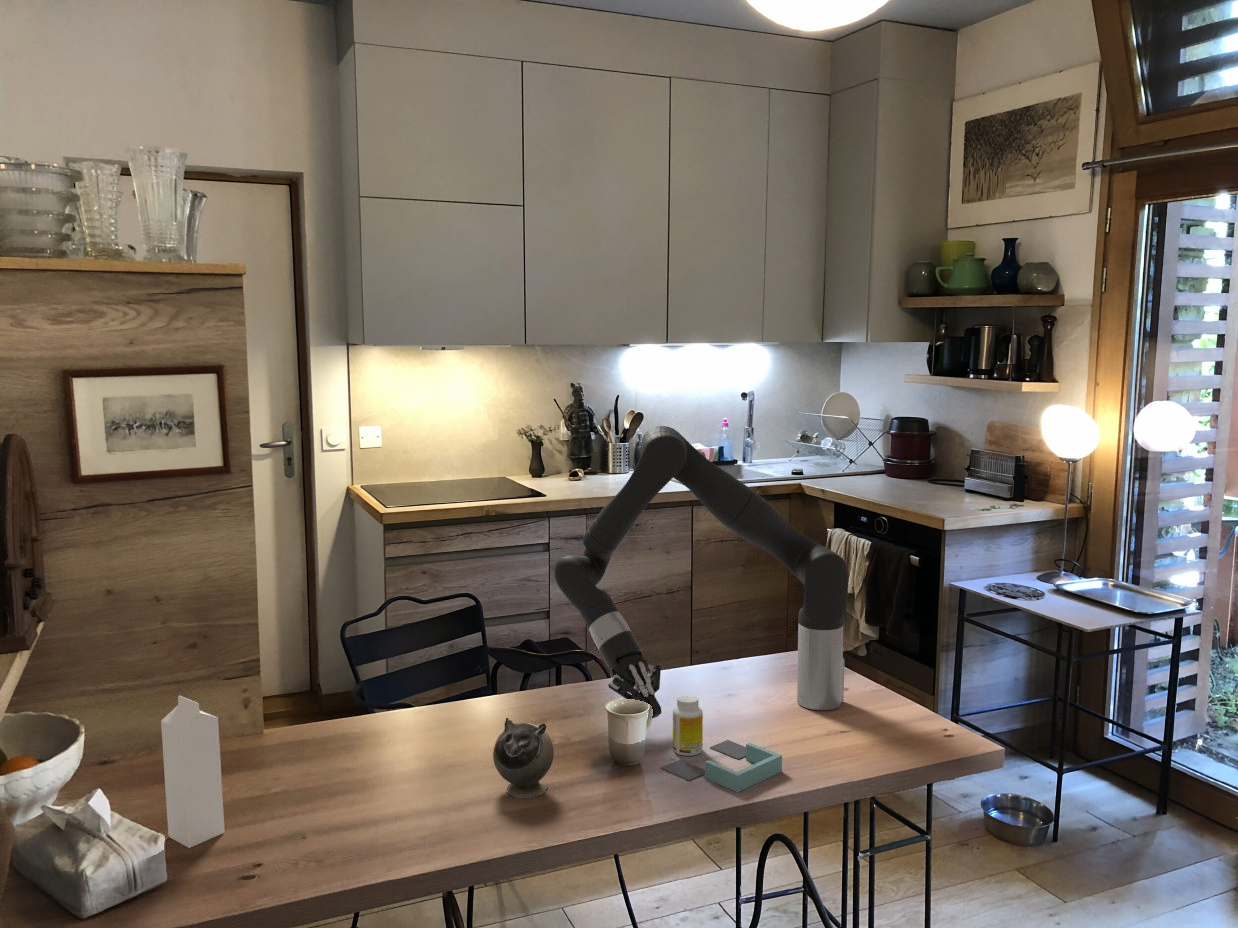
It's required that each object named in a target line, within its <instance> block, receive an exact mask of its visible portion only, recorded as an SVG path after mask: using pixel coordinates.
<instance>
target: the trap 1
mask: <svg viewBox="0 0 1238 928" xmlns="http://www.w3.org/2000/svg"><path fill="white" fill-rule="evenodd" d="M660 769H661V770H664V771H666V772H667V773H670V774H672V775H674V776H676V777H678V778H681V779H683V780H685V781H688V782H691V781H693V780H695V779H697V778H700V777H702V776H705V768H700V767H699V766H696V765H694V764H692V763H690V762H688V761H685V760H683V759H680V758H679V759H677V760H675V761H673V762H670V763H667V764H666V765H663V766H661V767H660Z"/></svg>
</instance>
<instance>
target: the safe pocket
mask: <svg viewBox="0 0 1238 928" xmlns="http://www.w3.org/2000/svg"><path fill="white" fill-rule="evenodd" d="M745 745H746V746H745V747H746V757H745V760H746V761H748V762H749V763H753V764H752V765H749V766H747V767H745V768H742V769H740V770H738V771H736V770H733V769H731V768H729V767H726V766H724V765H722V764H719V763H716V762H715V761H712V760H710V759H708V760H706V761H704V770H705V774H704V779H706V780H708V781H711V782H714V783H715V784H717V785H720V786H722V787H724V788H726V789H728V790H731V791H734V792H736V793H739V792H741V791H743V790H746V789H747V788H749V787H752V786H754V785H756V784H758V783H761V782H762V781H765V780H767V779H769V778H771V777H773V776H775V775H778V774H779V773H782V771H783V755H782V754H780V753H777V752H774V751H772V750H770V749H766V748H764V747H762V746H759V745H756V744H755V743H752V742H748V743H745Z"/></svg>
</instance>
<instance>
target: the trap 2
mask: <svg viewBox="0 0 1238 928" xmlns="http://www.w3.org/2000/svg"><path fill="white" fill-rule="evenodd" d="M709 749H711V750H714V751H716V752H718V753H721V754H724V755H725V756H728V757H730V758H733V759H736V760H741V759H743V758H746V746H745V745H743V744H742V745H741V744H740V743H736V742H734V741H731V740H729V739H726V740H723V741H721V742H719V743H717V744H713V745H712V746H710V747H709Z"/></svg>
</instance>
